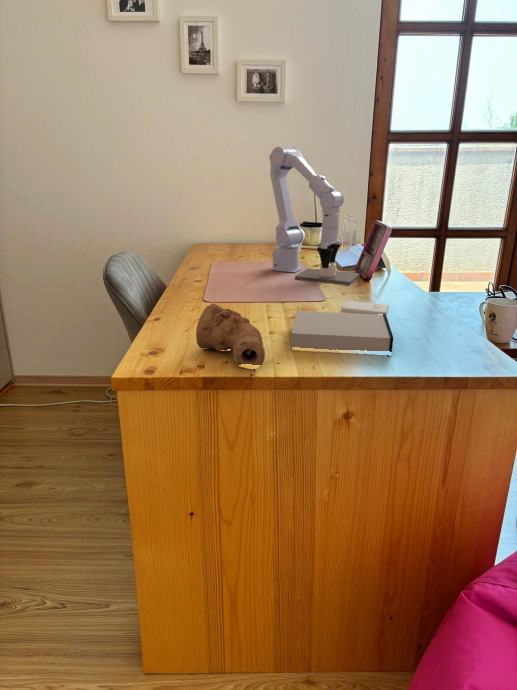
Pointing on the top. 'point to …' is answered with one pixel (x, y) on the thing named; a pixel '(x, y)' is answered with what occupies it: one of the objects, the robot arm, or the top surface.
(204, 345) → the clay pipe
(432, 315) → the top surface
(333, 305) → the top surface
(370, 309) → the external hard drive
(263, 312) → the top surface
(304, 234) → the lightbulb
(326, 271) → the ring
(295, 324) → the disc drive
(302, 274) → the steel tile with stud
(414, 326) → the top surface
